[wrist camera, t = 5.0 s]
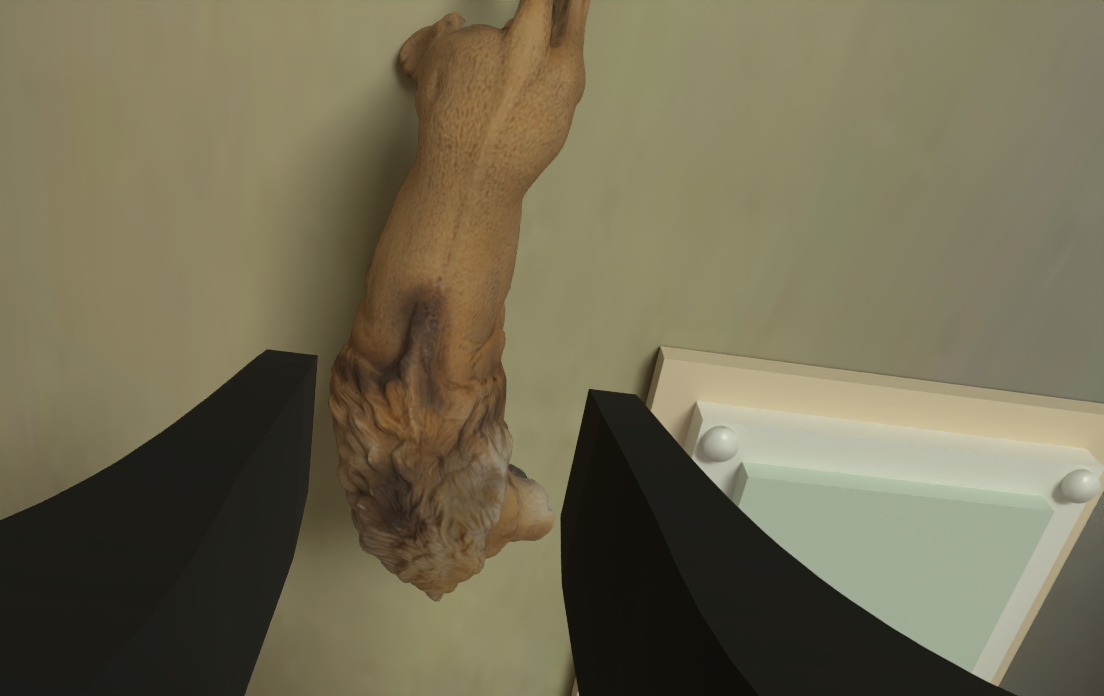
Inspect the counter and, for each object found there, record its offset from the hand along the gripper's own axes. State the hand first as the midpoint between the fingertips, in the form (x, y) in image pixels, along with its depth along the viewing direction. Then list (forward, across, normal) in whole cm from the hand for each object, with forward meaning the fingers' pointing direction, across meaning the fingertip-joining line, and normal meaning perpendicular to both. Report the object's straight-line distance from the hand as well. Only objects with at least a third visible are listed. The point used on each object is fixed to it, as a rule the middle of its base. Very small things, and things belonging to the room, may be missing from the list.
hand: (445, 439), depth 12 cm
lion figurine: (+10, 0, 0) cm, 10 cm away
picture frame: (+9, -11, +12) cm, 19 cm away
